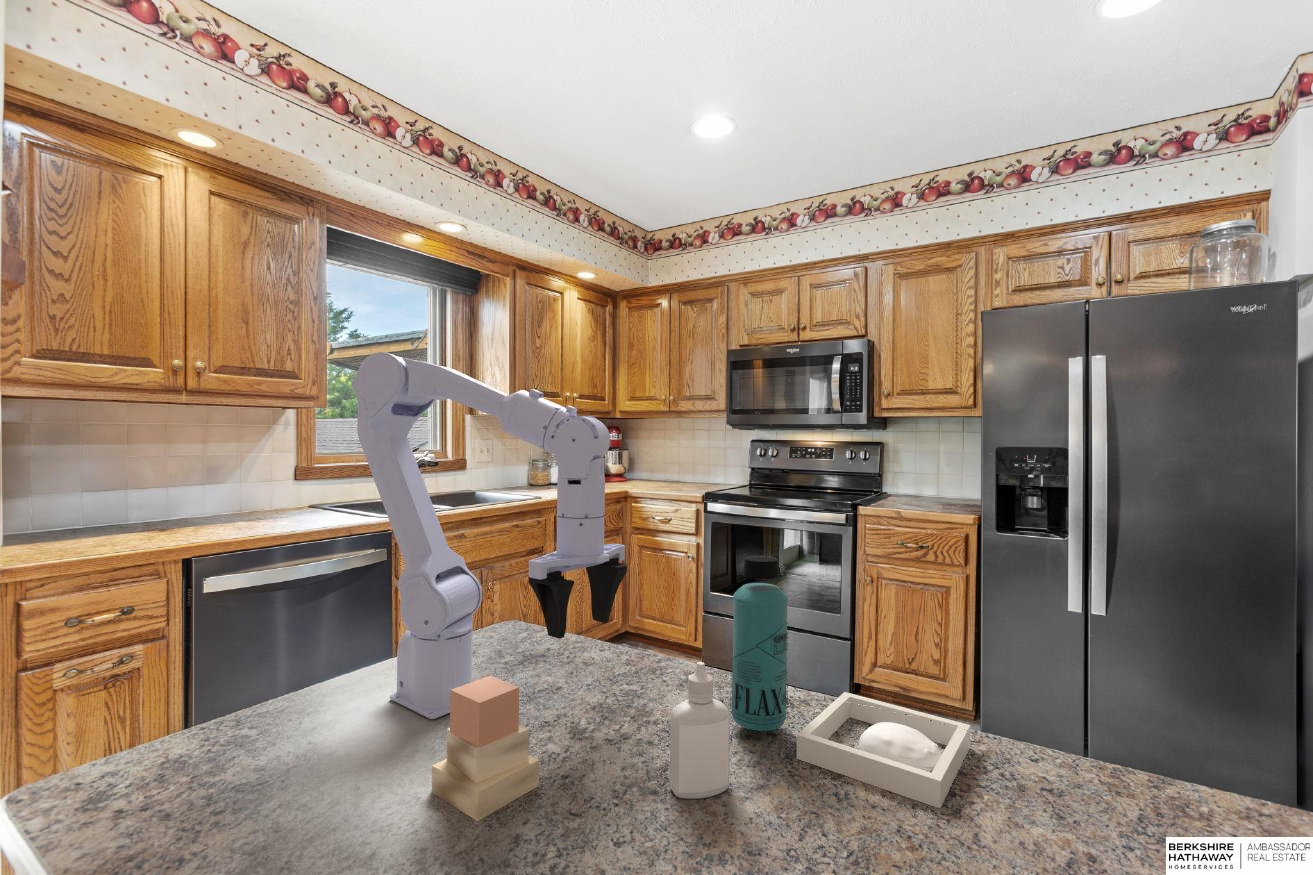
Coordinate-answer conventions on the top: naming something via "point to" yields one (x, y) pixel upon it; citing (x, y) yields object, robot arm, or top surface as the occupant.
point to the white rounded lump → (900, 745)
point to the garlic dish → (879, 769)
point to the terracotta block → (484, 710)
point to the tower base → (483, 787)
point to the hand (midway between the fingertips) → (579, 628)
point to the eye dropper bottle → (699, 741)
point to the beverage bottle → (759, 649)
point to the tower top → (488, 754)
